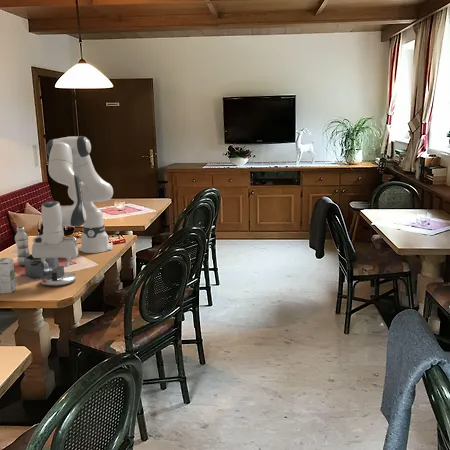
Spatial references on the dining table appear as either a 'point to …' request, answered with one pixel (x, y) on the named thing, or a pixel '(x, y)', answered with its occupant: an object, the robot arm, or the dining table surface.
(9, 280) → the syrup box
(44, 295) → the dining table surface
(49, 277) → the lid
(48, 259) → the pot
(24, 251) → the plastic bottle
